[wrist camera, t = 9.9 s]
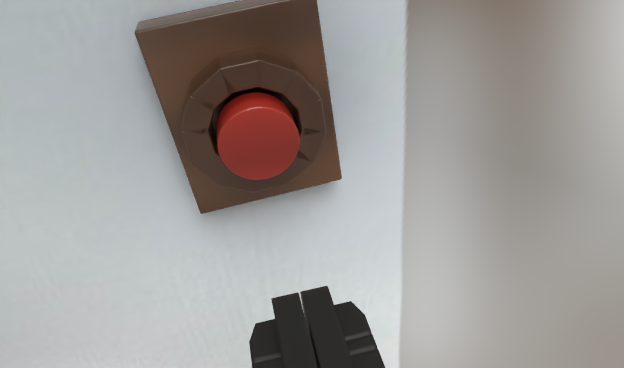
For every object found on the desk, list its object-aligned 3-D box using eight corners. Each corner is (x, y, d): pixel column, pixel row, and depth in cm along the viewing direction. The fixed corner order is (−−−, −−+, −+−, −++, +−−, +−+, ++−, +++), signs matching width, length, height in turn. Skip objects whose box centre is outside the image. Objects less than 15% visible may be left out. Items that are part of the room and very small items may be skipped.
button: (206, 101, 21) (207, 118, 19) (285, 83, 21) (292, 98, 20) (227, 169, 23) (229, 188, 21) (299, 151, 23) (305, 169, 22)
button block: (137, 21, 21) (128, 43, 18) (308, -15, 22) (325, 1, 19) (200, 197, 27) (201, 235, 24) (334, 164, 28) (351, 197, 25)
